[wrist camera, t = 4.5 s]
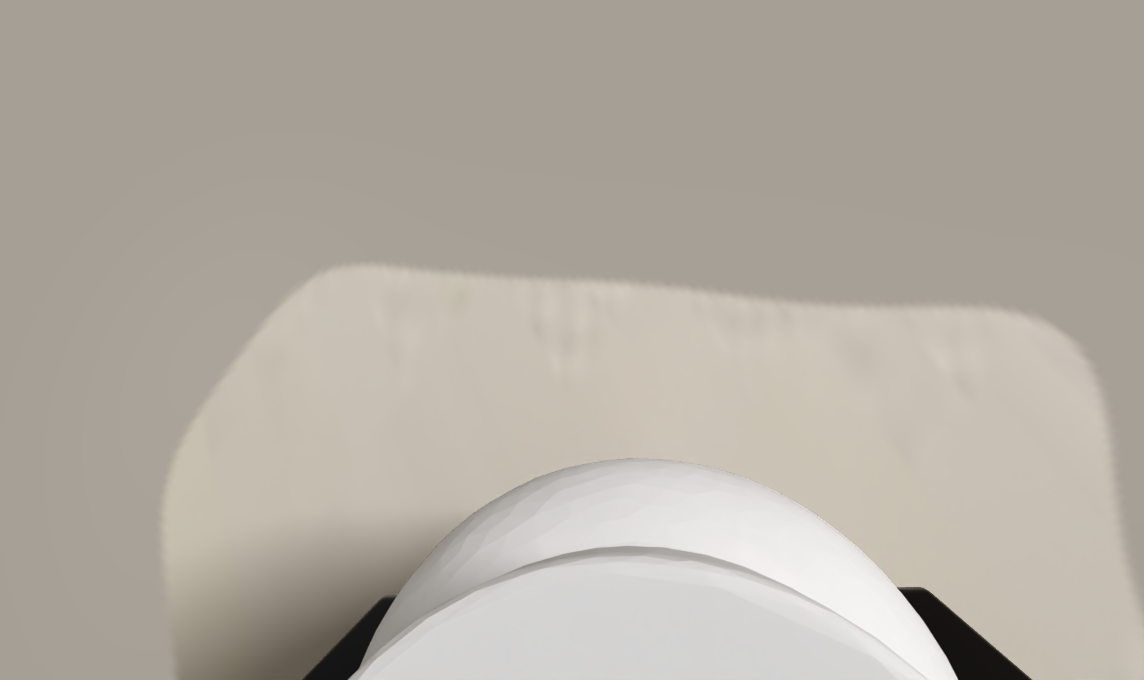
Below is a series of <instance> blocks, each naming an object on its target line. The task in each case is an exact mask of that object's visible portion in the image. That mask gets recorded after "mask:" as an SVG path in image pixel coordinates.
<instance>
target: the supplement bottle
mask: <svg viewBox="0 0 1144 680" xmlns="http://www.w3.org/2000/svg"><path fill="white" fill-rule="evenodd" d="M348 680H958V679H957V677H956V675H955V673H954V671H953V669H952V667H951V665H950V663H949V661H948V659H947V657H946V656H945V654H944V652H943V651H942V649H941V648H940V646H939V645H938V643H937V642H936V640H935V638H934V637H933V635H932V634H931V632H930V631H929V629H928V628H927V626H926V624H925V623H924V621H923V620H922V619H921V617H920V616H919V615H918V614H917V612H916V611H915V610H914V608H913V607H912V606H911V605H910V603H909V602H908V601H907V600H906V598H905V597H904V596H903V594H902V593H901V592H900V591H899V590H898V589H897V587H896V586H895V585H894V584H893V583H892V582H891V581H890V580H889V578H888V577H887V576H886V575H885V574H884V573H883V572H882V571H881V569H880V568H879V567H878V566H877V565H876V564H874V563H873V562H872V561H871V560H870V559H869V558H868V557H867V556H866V555H865V554H864V553H863V552H862V551H861V550H860V549H859V548H858V547H857V546H856V545H854V544H853V543H852V542H851V541H850V540H848V539H847V538H846V537H845V536H844V535H842V534H841V533H840V532H839V531H837V530H836V529H835V528H833V527H832V526H831V525H829V524H828V523H827V522H825V521H824V520H823V519H821V518H820V517H818V516H817V515H815V514H814V513H812V512H811V511H809V510H808V509H806V508H805V507H803V506H801V505H800V504H798V503H796V502H794V501H793V500H791V499H789V498H787V497H786V496H784V495H782V494H780V493H778V492H777V491H775V490H773V489H770V488H768V487H766V486H763V485H761V484H759V483H757V482H754V481H752V480H749V479H747V478H744V477H741V476H738V475H735V474H733V473H730V472H726V471H722V470H718V469H715V468H711V467H707V466H703V465H699V464H692V463H685V462H679V461H673V460H663V459H636V458H627V459H616V460H606V461H600V462H594V463H589V464H583V465H579V466H574V467H569V468H565V469H562V470H559V471H555V472H552V473H549V474H546V475H543V476H540V477H537V478H535V479H533V480H531V481H529V482H527V483H525V484H523V485H521V486H519V487H516V488H514V489H512V490H511V491H509V492H507V493H505V494H504V495H502V496H500V497H498V498H497V499H495V500H493V501H491V502H490V503H488V504H487V505H485V506H484V507H482V508H481V509H479V510H478V511H476V512H475V513H473V514H472V515H471V516H470V517H468V518H467V519H466V520H465V521H464V522H462V523H461V524H460V525H459V526H458V527H456V528H455V529H454V530H453V531H452V532H451V533H450V534H449V535H448V536H446V537H445V538H444V539H443V540H442V541H441V542H440V543H439V544H438V545H437V546H436V548H435V549H434V550H433V551H432V552H431V553H430V555H429V556H428V557H427V558H426V559H425V560H424V562H423V563H422V564H421V565H420V566H419V567H418V569H417V570H416V571H415V572H414V574H413V575H412V576H411V577H410V579H409V580H408V581H407V582H406V584H405V585H404V586H403V588H402V589H401V591H400V592H399V594H398V595H397V597H396V598H395V600H394V601H393V603H392V605H391V606H390V608H389V610H388V611H387V613H386V615H385V616H384V618H383V620H382V621H381V623H380V625H379V626H378V628H377V630H376V632H375V634H374V636H373V638H372V640H371V643H370V645H369V647H368V649H367V651H366V654H365V656H364V658H363V660H362V663H361V665H360V668H359V669H358V670H357V671H356V672H355V673H354V674H353V675H352V676H351V677H350V678H349V679H348Z"/></svg>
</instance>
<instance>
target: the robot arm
mask: <svg viewBox="0 0 1144 680" xmlns="http://www.w3.org/2000/svg"><path fill="white" fill-rule="evenodd" d="M897 589H898V590H899V591H900V592H901V593H902V594H903V596H904V597H905V598H906V600H907V601H908V602H909V603H910V605H911V606H912V607H913V608H914V610H915V611H916V612H917V614H918V615H919V616H920V617H921V619H922V620H923V621H924V623H925V624H926V626H927V628H928V629H929V631H930V632H931V634H932V635H933V637H934V638H935V640H936V642H937V643H938V645H939V646H940V648H941V649H942V651H943V652H944V654H945V656H946V657H947V659H948V661H949V663H950V665H951V667H952V669H953V671H954V673H955V675H956V677H957V679H958V680H1032V679H1031V678H1030V677H1028V676H1027V675H1026V674H1025V673H1024V672H1023V671H1021V670H1020V669H1019V668H1018V667H1017V666H1016V665H1014V664H1013V663H1012V662H1011V661H1010V660H1009V659H1007V658H1006V657H1005V656H1004V655H1003V654H1002V653H1000V652H999V651H998V650H997V649H996V648H995V647H993V646H992V645H991V644H990V643H989V642H988V641H987V640H985V639H984V638H983V637H982V636H981V635H980V634H978V633H977V632H976V631H975V630H974V629H973V628H971V627H970V626H969V625H968V624H967V623H966V622H964V621H963V620H962V619H961V618H960V617H959V616H957V615H956V614H955V613H954V612H953V611H952V610H951V609H949V608H948V607H947V606H946V605H945V604H944V603H942V602H941V601H940V600H939V599H938V598H937V597H935V596H934V595H933V594H932V593H931V592H929V591H928V590H926V589H924V588H921V587H897ZM396 597H397V595H389V596H385V597H383V598H381V599H380V600H379V601H378V602H377V603H376V604H375V605H374V606H373V607H372V608H371V609H370V610H369V611H368V612H367V613H366V614H365V615H364V616H363V617H362V618H361V619H360V620H359V622H358V623H357V624H356V625H355V626H354V627H353V628H352V629H351V630H350V631H349V632H348V633H347V634H346V635H345V636H344V637H343V638H342V639H341V640H340V641H339V642H338V643H337V644H336V645H335V646H334V647H333V648H332V649H331V650H330V651H329V652H328V653H327V654H326V655H325V656H324V657H323V659H322V660H321V661H320V662H319V663H318V664H317V665H316V666H315V667H314V668H313V669H312V670H311V671H310V672H309V673H308V674H307V675H306V676H305V677H304V678H303V679H302V680H348V679H349V678H350V677H351V676H352V675H353V674H354V673H355V672H356V671H357V670H358V669H359V668H360V665H361V663H362V660H363V658H364V656H365V654H366V651H367V649H368V647H369V645H370V643H371V640H372V638H373V636H374V634H375V632H376V630H377V628H378V626H379V625H380V623H381V621H382V620H383V618H384V616H385V615H386V613H387V611H388V610H389V608H390V606H391V605H392V603H393V601H394V600H395V598H396Z"/></svg>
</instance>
